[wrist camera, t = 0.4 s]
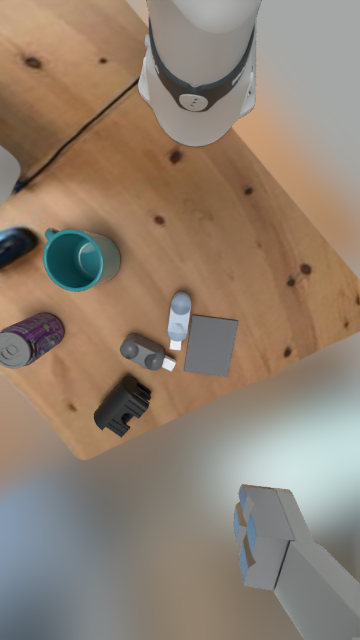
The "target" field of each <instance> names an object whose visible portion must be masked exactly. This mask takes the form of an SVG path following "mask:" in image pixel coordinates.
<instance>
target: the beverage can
mask: <svg viewBox="0 0 360 640" xmlns="http://www.w3.org/2000/svg"><path fill="white" fill-rule="evenodd" d="M63 335H64V330H63V326H62V324H61V322H60V321H59V320H58V319H57V318H56V317H55V316H53V315H51V314H48V313H39V314H37V315H34V316H32V317H30V318H27V319H25V320H23V321H21V322H18V323H16V324H14V325H11V326H9V327H7V328H5V329H3V330H2V331H1V332H0V364H1V365H2V366H4V367H7V368H11V369H16V368H20V367H22V366H27V365H29V364H31V363H33V362H34V361H35V360H37V359H38V358H40V357H41V356H42V355H44V354H45V353H46V352H48V351H49V350H50V349H52V348H53V347H55V346H56V345H57V344H59V343H60V342H61V340H62V338H63Z"/></svg>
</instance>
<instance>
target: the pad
mask: <svg viewBox="0 0 360 640" xmlns="http://www.w3.org/2000/svg"><path fill="white" fill-rule="evenodd" d="M237 324H238V321H237V320H229V319H222V318H214V317H207V316H199V315H192V321H191V327H190V334H189V341H188V347H187V354H186V361H185V368H184V371H186V372H194V373H202V374H209V375H217V376H224V377H227V376H228V370H229V365H230V360H231V355H232V350H233V345H234V340H235V335H236V330H237Z"/></svg>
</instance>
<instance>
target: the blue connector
mask: <svg viewBox="0 0 360 640" xmlns="http://www.w3.org/2000/svg"><path fill="white" fill-rule="evenodd" d="M190 309H191V300H190V296H189V295H188V294H187V293H186V292H182V291H181V292H177V293H176V294H175V295H174V296H173V299H172V303H171V310H170V318H169V326H168V336H169V338H170V339H171V344H170V349H174V350H180V348H181V341H182V340H184V339H185V337H186V335H187V330H188V323H189V316H190Z"/></svg>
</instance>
